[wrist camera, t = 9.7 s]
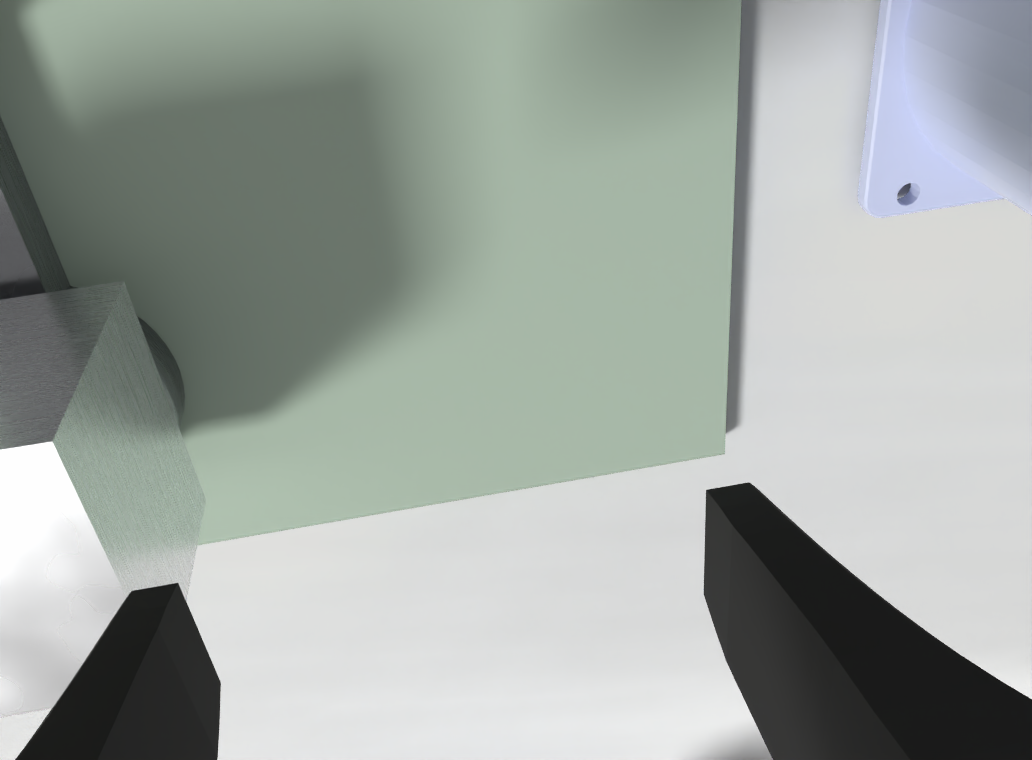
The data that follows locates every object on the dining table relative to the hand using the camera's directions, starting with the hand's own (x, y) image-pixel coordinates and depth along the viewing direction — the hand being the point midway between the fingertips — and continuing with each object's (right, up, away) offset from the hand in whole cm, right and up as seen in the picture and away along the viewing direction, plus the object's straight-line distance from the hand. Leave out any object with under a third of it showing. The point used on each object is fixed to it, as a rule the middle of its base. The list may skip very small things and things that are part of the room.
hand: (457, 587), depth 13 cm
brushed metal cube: (-9, +2, +6) cm, 11 cm away
